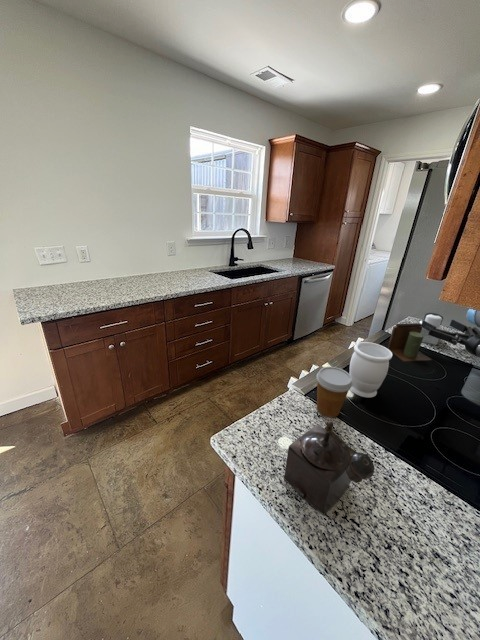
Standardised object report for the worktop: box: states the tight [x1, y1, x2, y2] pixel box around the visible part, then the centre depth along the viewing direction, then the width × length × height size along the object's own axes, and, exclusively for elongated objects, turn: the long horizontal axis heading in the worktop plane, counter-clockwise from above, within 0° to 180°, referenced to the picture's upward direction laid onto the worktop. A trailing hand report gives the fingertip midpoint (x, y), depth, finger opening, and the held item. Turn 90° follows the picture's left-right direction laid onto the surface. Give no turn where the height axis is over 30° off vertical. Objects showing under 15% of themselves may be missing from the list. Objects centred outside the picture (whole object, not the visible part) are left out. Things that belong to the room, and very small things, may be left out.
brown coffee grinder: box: [283, 420, 375, 515], centre depth 51 cm, size 16×11×18 cm
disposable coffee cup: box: [316, 366, 353, 418], centre depth 75 cm, size 10×10×12 cm
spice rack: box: [386, 322, 432, 362], centre depth 104 cm, size 12×10×12 cm
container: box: [419, 312, 444, 346], centre depth 116 cm, size 8×8×13 cm
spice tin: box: [403, 332, 424, 358], centre depth 103 cm, size 5×5×9 cm
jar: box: [349, 341, 393, 399], centre depth 83 cm, size 11×10×15 cm
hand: (436, 323), depth 113 cm, fingers open, 13 cm apart
